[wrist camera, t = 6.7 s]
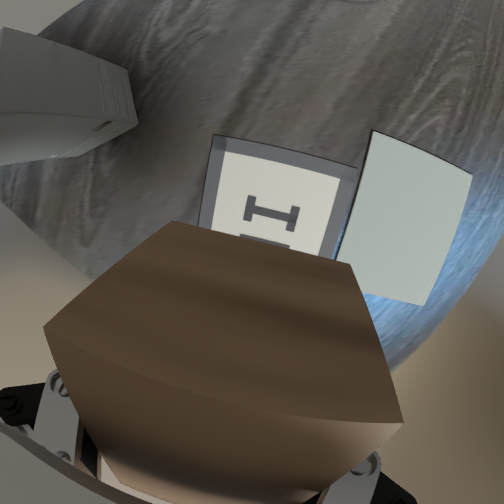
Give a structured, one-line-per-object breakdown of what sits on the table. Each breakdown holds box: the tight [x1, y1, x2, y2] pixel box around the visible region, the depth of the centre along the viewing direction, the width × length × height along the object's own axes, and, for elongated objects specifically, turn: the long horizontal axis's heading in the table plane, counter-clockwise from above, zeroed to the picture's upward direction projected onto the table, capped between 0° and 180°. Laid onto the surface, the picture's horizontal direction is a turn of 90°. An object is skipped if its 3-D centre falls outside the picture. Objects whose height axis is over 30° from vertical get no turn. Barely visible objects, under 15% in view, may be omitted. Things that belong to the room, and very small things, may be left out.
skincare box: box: [0, 27, 138, 166], centre depth 14 cm, size 8×7×16 cm
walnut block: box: [43, 221, 404, 504], centre depth 8 cm, size 9×6×6 cm, turn 168°
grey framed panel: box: [198, 135, 358, 259], centre depth 24 cm, size 15×12×1 cm
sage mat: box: [336, 131, 473, 306], centre depth 22 cm, size 14×11×1 cm
